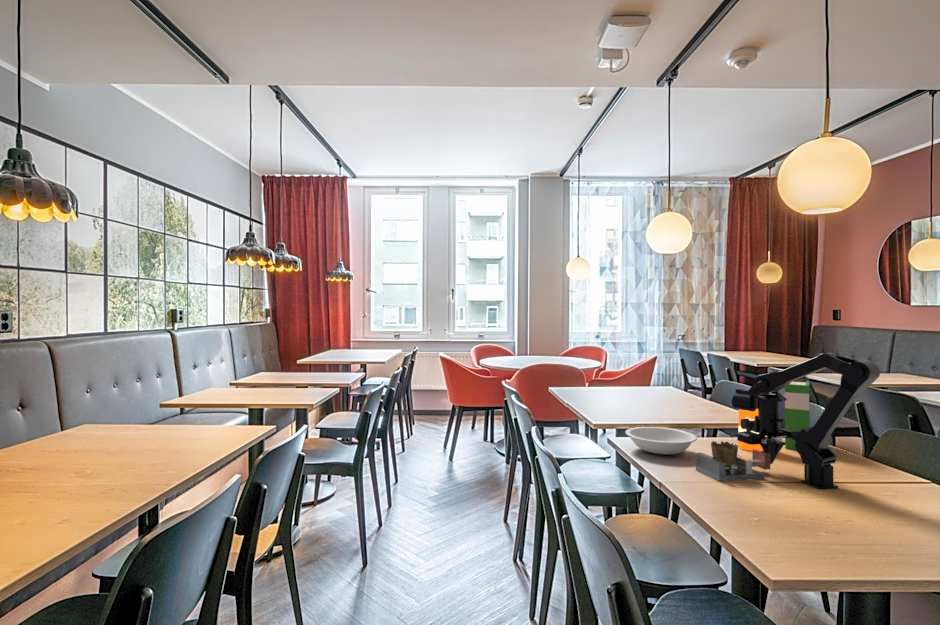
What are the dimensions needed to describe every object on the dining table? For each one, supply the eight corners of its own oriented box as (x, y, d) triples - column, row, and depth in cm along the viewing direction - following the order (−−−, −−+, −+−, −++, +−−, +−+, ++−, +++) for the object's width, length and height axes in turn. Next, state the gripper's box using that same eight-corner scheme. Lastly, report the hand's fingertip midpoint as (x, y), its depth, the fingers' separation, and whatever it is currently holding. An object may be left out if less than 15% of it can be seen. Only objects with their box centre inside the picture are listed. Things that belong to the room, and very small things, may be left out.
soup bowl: (637, 461, 161) (637, 442, 161) (617, 443, 185) (617, 426, 185) (709, 462, 160) (709, 442, 160) (680, 444, 184) (680, 427, 184)
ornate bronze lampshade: (732, 466, 151) (732, 441, 151) (742, 473, 143) (742, 447, 144) (707, 465, 152) (707, 440, 152) (716, 473, 144) (716, 446, 144)
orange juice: (746, 445, 182) (746, 392, 183) (772, 450, 176) (772, 395, 176) (738, 448, 177) (737, 394, 178) (764, 454, 171) (764, 397, 171)
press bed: (764, 478, 144) (763, 460, 144) (719, 481, 141) (719, 462, 141) (737, 467, 154) (737, 450, 155) (695, 470, 152) (695, 452, 152)
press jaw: (778, 472, 145) (778, 455, 145) (746, 474, 143) (745, 457, 143) (751, 461, 155) (750, 446, 155) (720, 463, 153) (720, 447, 154)
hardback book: (787, 439, 192) (786, 379, 193) (809, 441, 188) (809, 380, 189) (785, 448, 178) (784, 384, 178) (809, 451, 174) (809, 385, 174)
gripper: (774, 407, 160) (776, 454, 160) (724, 410, 157) (726, 458, 157) (802, 414, 149) (804, 464, 149) (749, 417, 146) (751, 469, 146)
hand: (770, 463), depth 150 cm, fingers closed
